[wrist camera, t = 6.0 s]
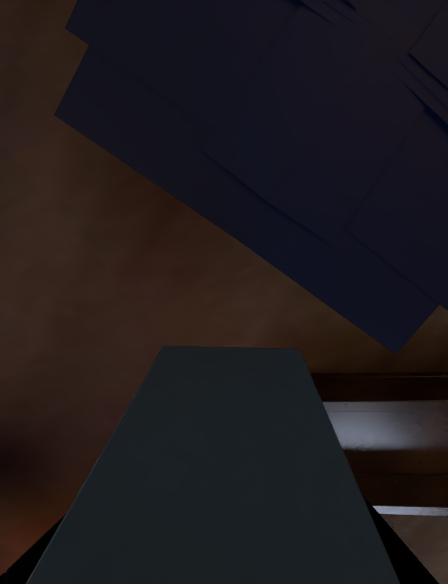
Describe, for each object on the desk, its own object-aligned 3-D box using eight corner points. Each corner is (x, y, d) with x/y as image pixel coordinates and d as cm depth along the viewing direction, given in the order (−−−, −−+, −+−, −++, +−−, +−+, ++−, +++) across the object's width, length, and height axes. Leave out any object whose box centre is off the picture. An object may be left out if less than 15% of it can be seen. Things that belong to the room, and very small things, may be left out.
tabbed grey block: (301, 327, 11) (741, 1160, 1) (285, 528, 14) (385, 1225, 4) (161, 324, 11) (-301, 981, 2) (175, 521, 14) (42, 1158, 5)
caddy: (513, 370, 19) (562, 399, 16) (487, 477, 21) (525, 518, 18) (293, 374, 20) (300, 401, 17) (293, 473, 23) (300, 511, 20)
